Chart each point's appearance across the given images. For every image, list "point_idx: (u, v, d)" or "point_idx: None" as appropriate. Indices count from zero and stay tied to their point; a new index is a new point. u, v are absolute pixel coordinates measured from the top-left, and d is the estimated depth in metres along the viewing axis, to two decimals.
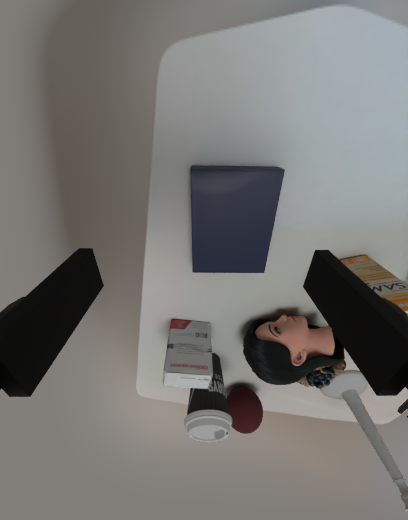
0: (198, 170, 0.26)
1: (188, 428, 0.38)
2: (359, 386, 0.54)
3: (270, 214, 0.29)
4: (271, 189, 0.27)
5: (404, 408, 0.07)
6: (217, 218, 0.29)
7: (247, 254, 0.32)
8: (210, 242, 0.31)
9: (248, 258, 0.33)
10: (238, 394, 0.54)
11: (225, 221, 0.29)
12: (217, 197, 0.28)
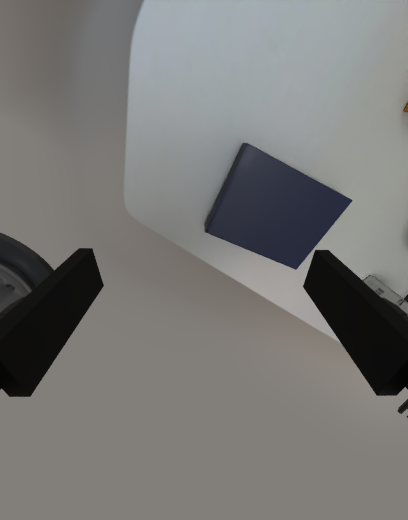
0: (209, 226, 0.29)
1: None
2: None
3: (286, 172, 0.25)
4: (259, 163, 0.24)
5: (404, 408, 0.08)
6: (258, 227, 0.29)
7: (314, 211, 0.28)
8: (277, 242, 0.30)
9: (320, 212, 0.28)
10: None
11: (265, 221, 0.28)
12: (239, 219, 0.28)
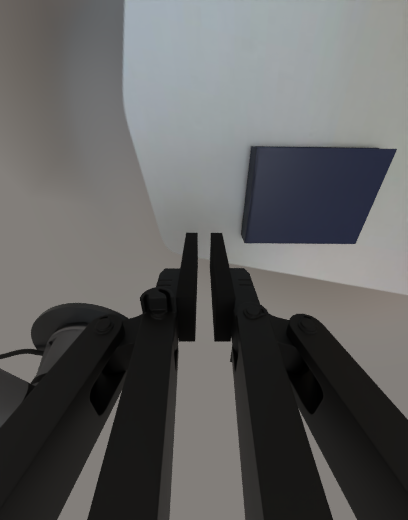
0: (247, 236, 0.29)
1: None
2: None
3: (307, 155, 0.23)
4: (276, 159, 0.24)
5: (232, 357, 0.09)
6: (296, 218, 0.27)
7: (354, 178, 0.25)
8: (322, 225, 0.28)
9: (361, 177, 0.25)
10: None
11: (302, 210, 0.27)
12: (274, 219, 0.27)
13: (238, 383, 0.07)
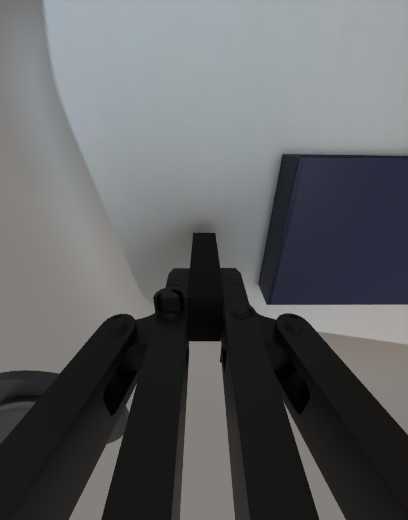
0: (271, 296, 0.18)
1: None
2: None
3: (389, 172, 0.13)
4: (332, 179, 0.13)
5: (221, 357, 0.09)
6: (353, 270, 0.17)
7: None
8: (393, 279, 0.17)
9: None
10: None
11: (364, 258, 0.16)
12: (317, 272, 0.17)
13: (227, 384, 0.07)
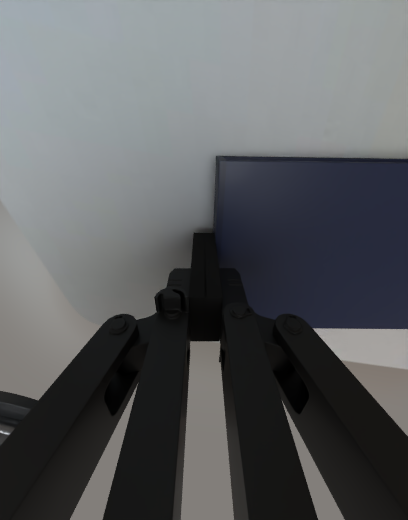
0: None
1: None
2: None
3: (333, 178, 0.10)
4: (264, 187, 0.11)
5: (220, 357, 0.09)
6: (306, 292, 0.14)
7: None
8: (355, 302, 0.15)
9: None
10: None
11: (317, 278, 0.14)
12: (264, 293, 0.14)
13: (226, 384, 0.07)
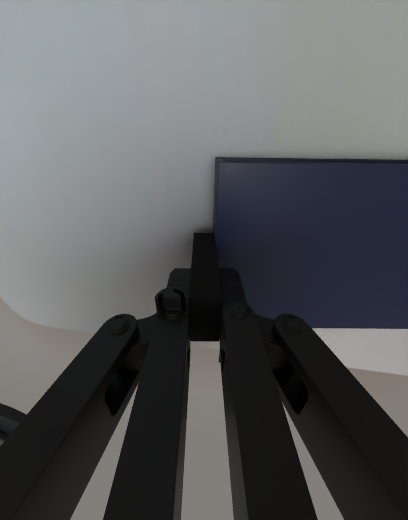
0: None
1: None
2: None
3: (331, 179, 0.11)
4: (263, 188, 0.11)
5: None
6: (305, 292, 0.14)
7: None
8: (353, 302, 0.15)
9: None
10: None
11: (316, 279, 0.14)
12: (263, 293, 0.14)
13: (225, 384, 0.07)
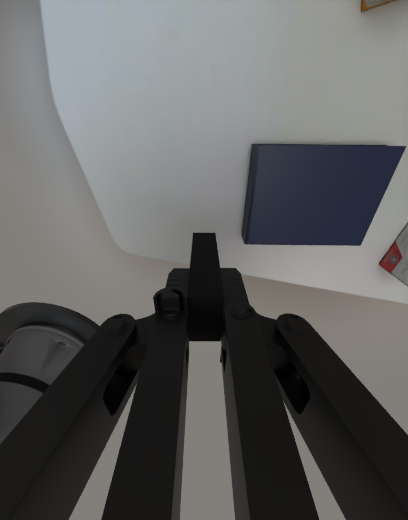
0: (247, 237, 0.28)
1: None
2: None
3: (310, 153, 0.22)
4: (277, 157, 0.23)
5: (221, 357, 0.09)
6: (299, 219, 0.26)
7: (360, 177, 0.24)
8: (326, 226, 0.27)
9: (368, 175, 0.23)
10: None
11: (304, 210, 0.26)
12: (275, 220, 0.26)
13: (227, 384, 0.07)
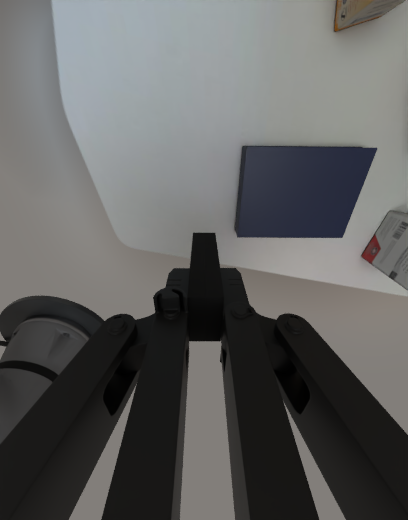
0: (239, 231, 0.30)
1: None
2: None
3: (293, 154, 0.25)
4: (265, 158, 0.25)
5: (221, 357, 0.09)
6: (286, 213, 0.29)
7: (339, 175, 0.26)
8: (311, 220, 0.29)
9: (345, 174, 0.26)
10: None
11: (290, 205, 0.28)
12: (265, 214, 0.29)
13: (227, 384, 0.07)
